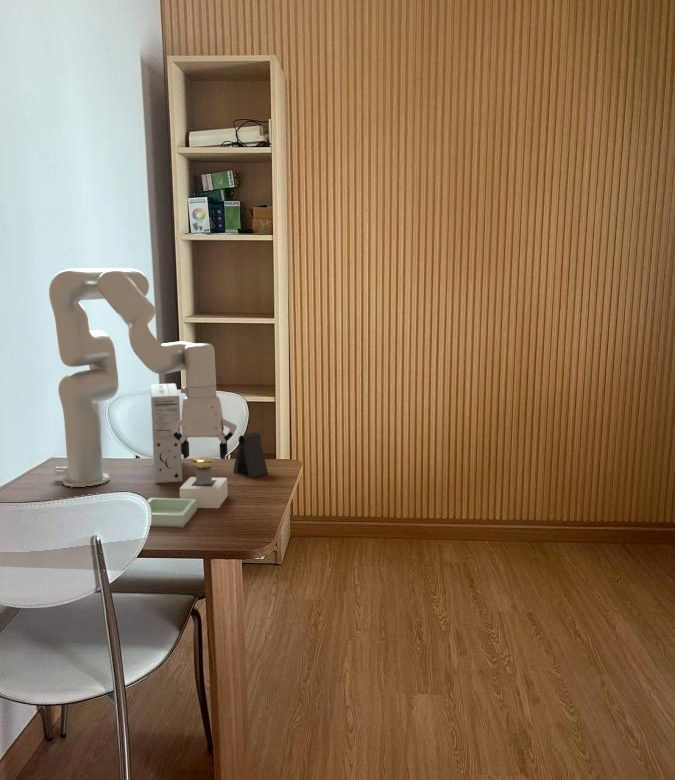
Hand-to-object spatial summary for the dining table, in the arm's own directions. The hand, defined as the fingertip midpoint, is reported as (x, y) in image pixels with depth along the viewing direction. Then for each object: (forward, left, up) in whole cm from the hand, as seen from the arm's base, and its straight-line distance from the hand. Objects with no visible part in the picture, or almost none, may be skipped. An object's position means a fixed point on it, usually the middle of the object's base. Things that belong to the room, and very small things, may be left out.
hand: (204, 457), depth 187 cm
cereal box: (-18, +26, -12) cm, 34 cm away
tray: (-6, -13, -12) cm, 19 cm away
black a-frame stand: (+7, +26, -12) cm, 30 cm away
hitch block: (0, 0, -12) cm, 12 cm away
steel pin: (0, 0, -12) cm, 12 cm away
